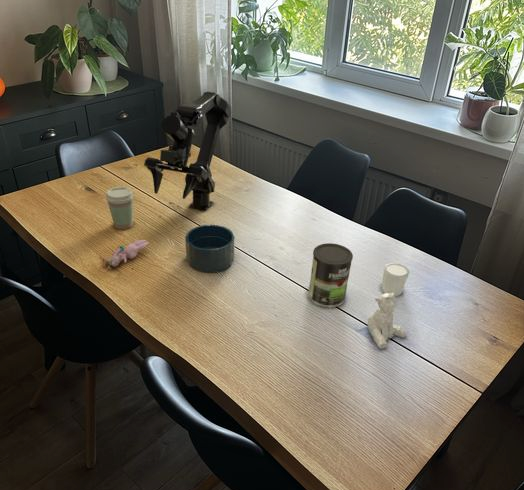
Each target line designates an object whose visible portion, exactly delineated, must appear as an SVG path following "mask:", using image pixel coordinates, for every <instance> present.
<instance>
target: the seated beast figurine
mask: <svg viewBox="0 0 524 490" xmlns="http://www.w3.org/2000/svg"><path fill="white" fill-rule="evenodd" d="M374 300H375V302H377V305H378V308H377V309H375V311H374V313H373V314H372V315H370V316H368V318H367V329H368V331H369V334H370V335H371V338H373V341H374V343H375V344H376V346H377V348H378V349H380V350H381V349H382V350H383V349H385V348H387V345H388V344H387V341H388V339H392V338H393V337H396V336H397V337H399V338H403V339H404V337H405V335H406V333H407V332H406V330H405V329H403V327H402V326H401V325H398V324H396V323H394V322H393V321H394V310H395V308H396V307H397V297H396V296H394V293H391V294H389V293H382V294H381V295H380V296H379V297H375V299H374Z"/></svg>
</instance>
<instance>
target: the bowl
mask: <svg viewBox="0 0 524 490" xmlns="http://www.w3.org/2000/svg"><path fill="white" fill-rule="evenodd" d="M184 238H185V239H184V240H185V241H184V242H185V257H186V262H187V264H188V265H189V266H190V267H191V268H192V269H194V270H196V271H198V272H201V273H208V274H209V273H211V274H213V273H218V272H223V271H225V270H227V269H228V268H230V267H231V266H232V264H233V263H234V261H235V245H236V243H235V240H236V237H235V233H234V232H233V231H232V230H231V229H230V228H227V227H225V226H222V225H218V224H201V225H198V226H195V227H193V228H191V229H190V230H188V232H186V234H185V236H184Z"/></svg>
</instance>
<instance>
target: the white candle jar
mask: <svg viewBox="0 0 524 490" xmlns="http://www.w3.org/2000/svg"><path fill="white" fill-rule="evenodd" d="M382 274H383V275H382V282H381V283H382V284H381V290H382V293H383V294H385V293H389V294H391V293H394V296H395V297H397V296H401V294H402V293H403V290H404V288H405V285H406V283H407V280H408V278H409V274H410V270H409V268H408V267H407V266H406V265H404V264H401V263H397V262H389V263H387V264H385V265H384V267H383V273H382Z"/></svg>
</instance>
